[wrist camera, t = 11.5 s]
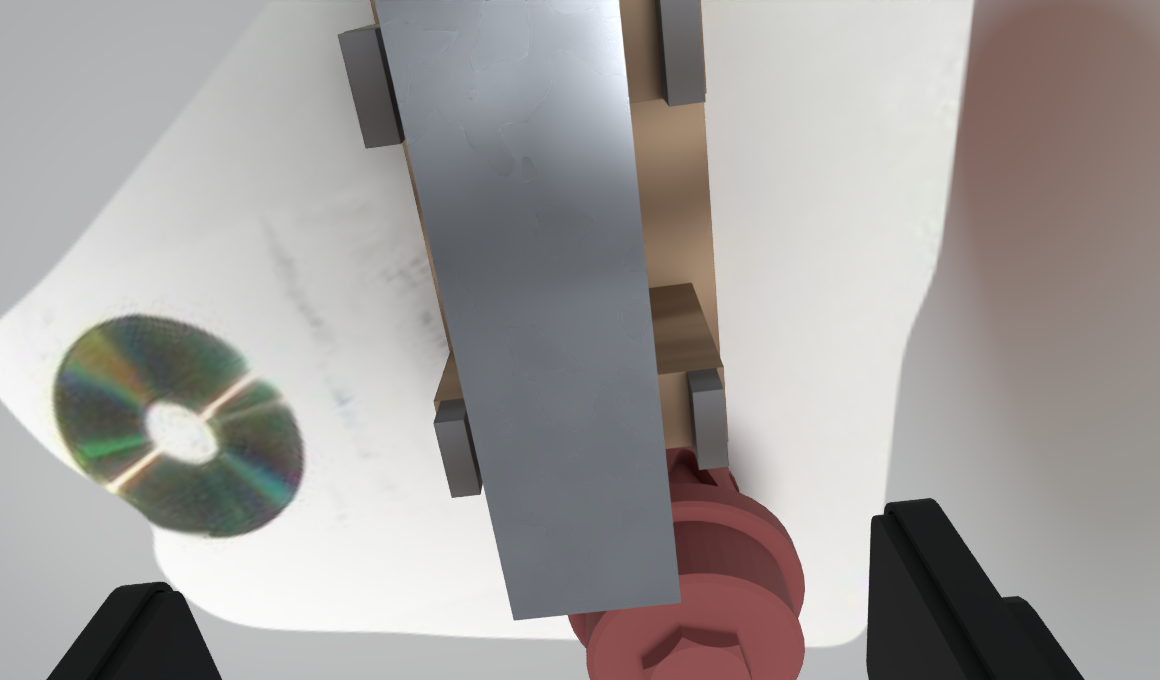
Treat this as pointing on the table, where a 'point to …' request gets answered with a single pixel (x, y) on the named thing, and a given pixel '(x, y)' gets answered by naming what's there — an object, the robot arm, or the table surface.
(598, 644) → the mechanical component
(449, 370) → the rack
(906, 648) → the robot arm
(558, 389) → the matte grey brick
